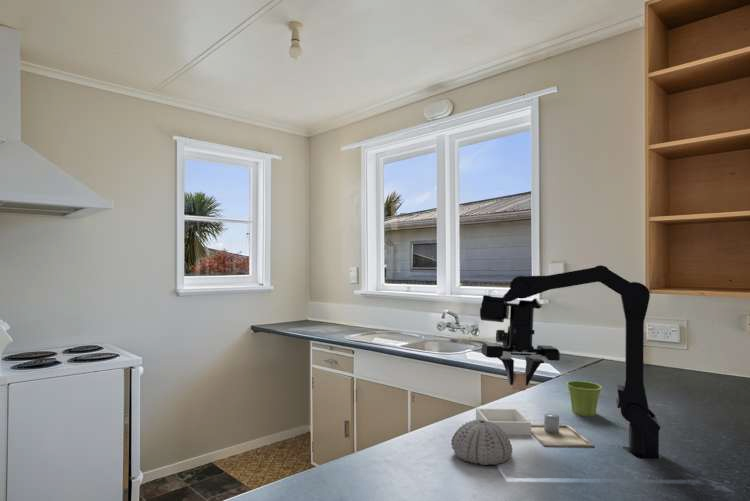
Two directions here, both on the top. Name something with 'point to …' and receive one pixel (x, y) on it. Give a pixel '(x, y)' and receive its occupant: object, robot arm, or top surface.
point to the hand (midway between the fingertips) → (518, 385)
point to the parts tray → (559, 437)
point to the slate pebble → (551, 423)
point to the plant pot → (584, 397)
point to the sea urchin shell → (481, 443)
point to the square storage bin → (506, 420)
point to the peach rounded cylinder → (519, 381)
